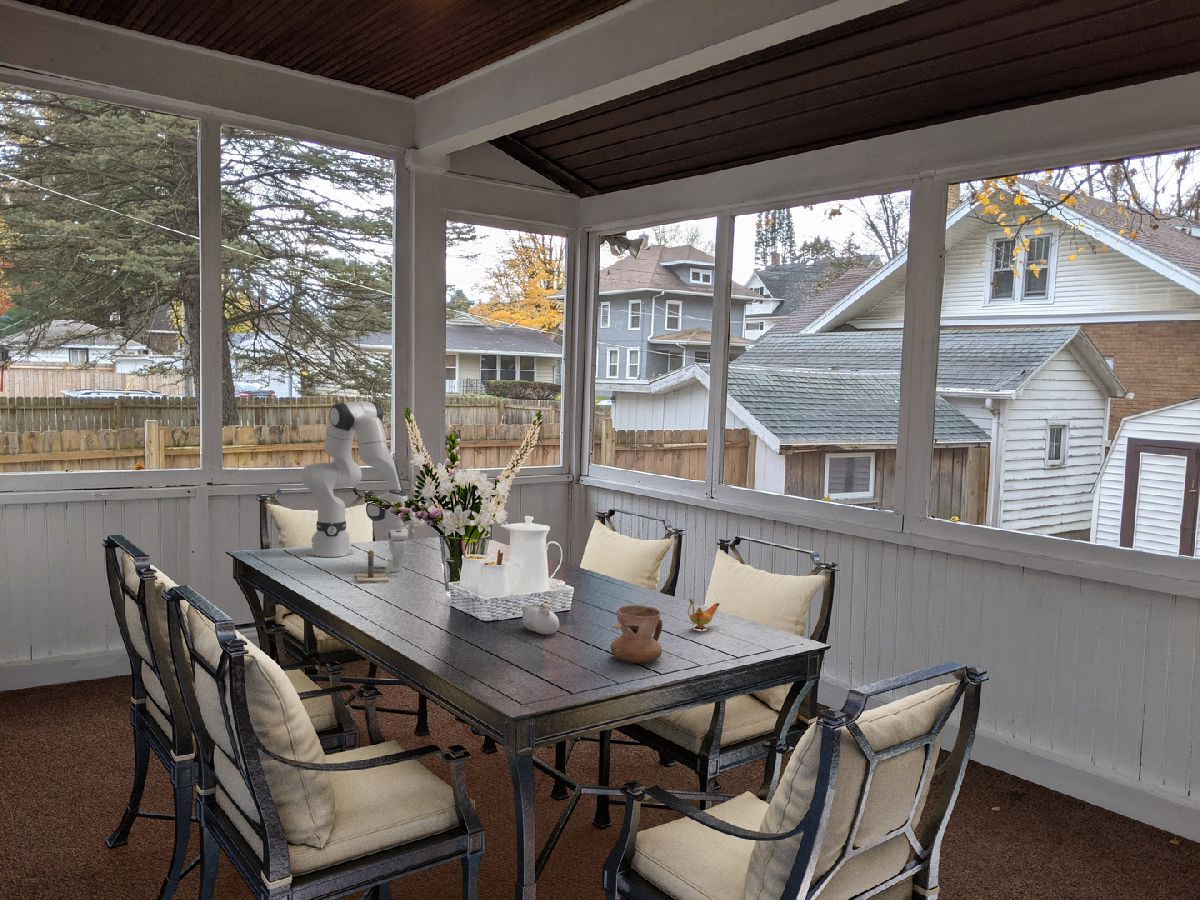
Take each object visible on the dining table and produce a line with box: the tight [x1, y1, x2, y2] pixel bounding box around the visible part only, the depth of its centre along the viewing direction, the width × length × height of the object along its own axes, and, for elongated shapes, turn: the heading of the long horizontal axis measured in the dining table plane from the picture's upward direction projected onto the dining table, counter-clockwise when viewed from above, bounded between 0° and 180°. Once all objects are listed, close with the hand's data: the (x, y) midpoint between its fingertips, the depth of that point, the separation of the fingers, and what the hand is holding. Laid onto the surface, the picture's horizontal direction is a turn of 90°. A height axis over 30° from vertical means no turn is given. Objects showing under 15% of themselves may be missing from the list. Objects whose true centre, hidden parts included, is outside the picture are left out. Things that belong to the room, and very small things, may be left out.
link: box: [366, 559, 403, 574], centre depth 349 cm, size 8×13×4 cm, turn 109°
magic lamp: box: [687, 598, 721, 630], centre depth 285 cm, size 7×18×11 cm, turn 139°
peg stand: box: [354, 550, 389, 584], centre depth 336 cm, size 13×11×11 cm
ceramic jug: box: [610, 604, 663, 664], centre depth 252 cm, size 18×14×14 cm
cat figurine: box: [520, 601, 560, 636], centre depth 275 cm, size 10×8×15 cm
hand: (396, 566), depth 350 cm, fingers closed on link, 2 cm apart
